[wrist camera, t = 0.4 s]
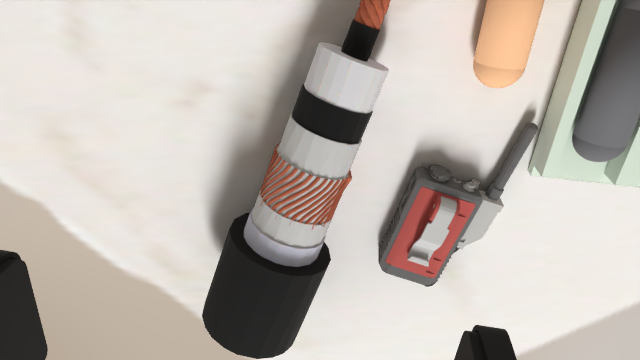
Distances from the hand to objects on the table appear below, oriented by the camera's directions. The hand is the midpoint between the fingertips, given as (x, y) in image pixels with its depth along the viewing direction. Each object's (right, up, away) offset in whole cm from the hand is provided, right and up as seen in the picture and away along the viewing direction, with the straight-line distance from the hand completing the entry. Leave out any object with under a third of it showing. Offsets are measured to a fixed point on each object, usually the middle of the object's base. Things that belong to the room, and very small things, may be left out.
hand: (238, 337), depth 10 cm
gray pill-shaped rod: (+25, +11, +25) cm, 37 cm away
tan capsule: (+17, +17, +25) cm, 34 cm away
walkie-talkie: (+14, +2, +36) cm, 39 cm away
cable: (+1, +5, +36) cm, 36 cm away
